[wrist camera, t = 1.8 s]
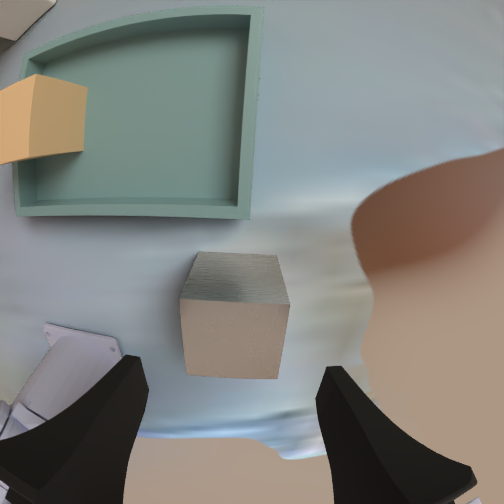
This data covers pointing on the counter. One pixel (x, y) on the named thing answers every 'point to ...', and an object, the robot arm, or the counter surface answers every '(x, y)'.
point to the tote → (153, 117)
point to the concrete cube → (234, 316)
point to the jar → (20, 16)
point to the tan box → (41, 118)
